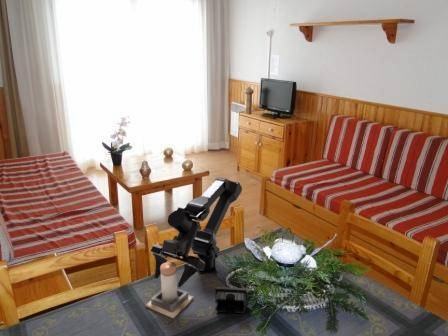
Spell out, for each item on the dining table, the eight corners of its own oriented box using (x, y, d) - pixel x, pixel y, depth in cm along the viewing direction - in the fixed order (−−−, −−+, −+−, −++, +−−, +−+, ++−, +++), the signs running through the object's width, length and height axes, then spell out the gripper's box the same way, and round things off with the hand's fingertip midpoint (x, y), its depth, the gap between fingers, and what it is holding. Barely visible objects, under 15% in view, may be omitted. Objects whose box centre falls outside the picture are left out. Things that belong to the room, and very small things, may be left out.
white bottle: (170, 293, 127) (168, 260, 123) (180, 300, 124) (179, 265, 120) (159, 301, 124) (157, 266, 120) (169, 307, 121) (167, 272, 116)
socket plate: (167, 288, 131) (166, 281, 130) (193, 298, 126) (193, 291, 125) (146, 306, 122) (145, 299, 121) (173, 318, 117) (173, 311, 116)
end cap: (246, 301, 125) (247, 284, 123) (246, 316, 118) (246, 298, 116) (216, 300, 125) (216, 282, 123) (214, 314, 119) (214, 296, 117)
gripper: (152, 222, 124) (131, 268, 119) (199, 236, 115) (179, 286, 110) (168, 233, 133) (149, 276, 128) (213, 247, 124) (195, 293, 119)
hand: (167, 282), depth 121 cm, fingers open, 9 cm apart
